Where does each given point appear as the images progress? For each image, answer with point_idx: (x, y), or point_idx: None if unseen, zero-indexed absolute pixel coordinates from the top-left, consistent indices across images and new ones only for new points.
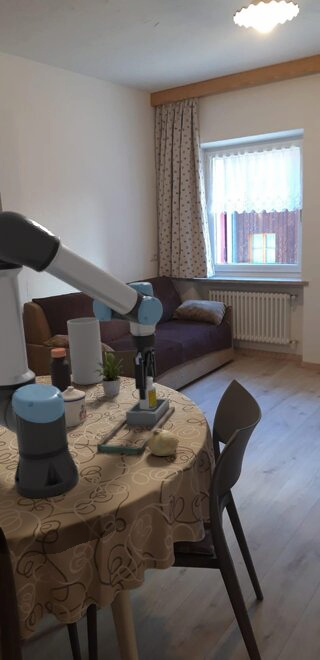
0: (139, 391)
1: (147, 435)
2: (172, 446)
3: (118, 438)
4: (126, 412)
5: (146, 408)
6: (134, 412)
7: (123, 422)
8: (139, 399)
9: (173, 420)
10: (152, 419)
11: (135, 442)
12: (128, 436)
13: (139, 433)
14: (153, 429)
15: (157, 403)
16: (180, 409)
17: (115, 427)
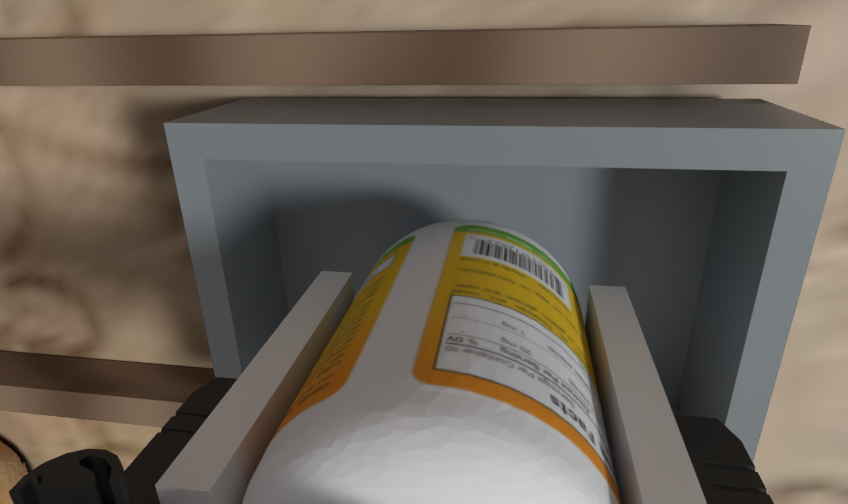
0: (192, 449)
1: (24, 389)
2: None
3: (12, 119)
4: (166, 131)
5: None
6: (195, 237)
7: (179, 84)
8: (368, 295)
9: None
10: None
11: (22, 279)
12: (82, 191)
13: (168, 260)
14: (135, 407)
15: (713, 352)
16: (785, 468)
17: (19, 58)
